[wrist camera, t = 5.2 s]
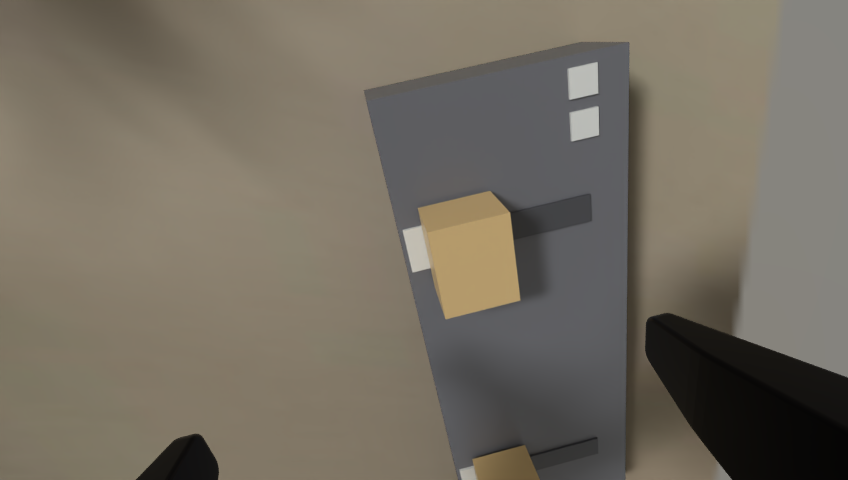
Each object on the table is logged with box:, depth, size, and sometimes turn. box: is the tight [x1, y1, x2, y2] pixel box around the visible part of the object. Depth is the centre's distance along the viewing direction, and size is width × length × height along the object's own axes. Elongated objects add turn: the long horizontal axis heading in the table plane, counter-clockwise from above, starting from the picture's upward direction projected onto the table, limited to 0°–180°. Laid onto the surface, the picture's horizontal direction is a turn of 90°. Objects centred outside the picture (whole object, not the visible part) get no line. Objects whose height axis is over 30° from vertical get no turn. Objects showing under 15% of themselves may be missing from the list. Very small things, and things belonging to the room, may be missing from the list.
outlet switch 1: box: [418, 191, 520, 319], centre depth 14 cm, size 3×2×2 cm
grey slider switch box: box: [364, 42, 629, 480], centre depth 19 cm, size 22×8×3 cm, turn 11°
